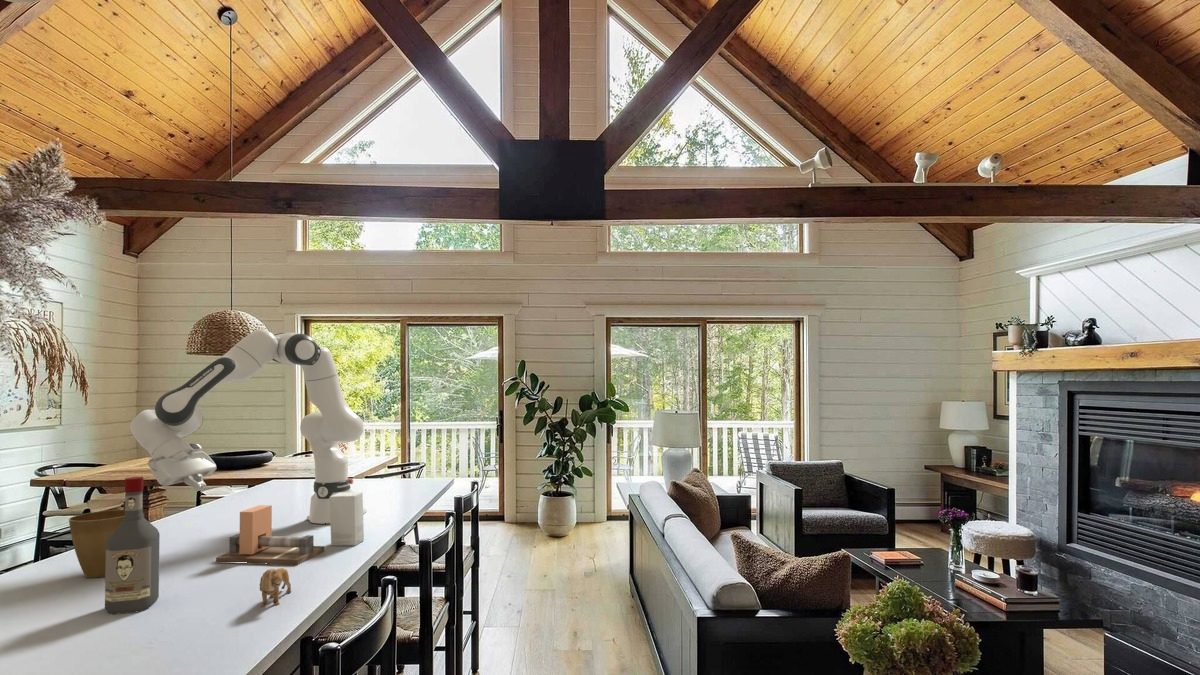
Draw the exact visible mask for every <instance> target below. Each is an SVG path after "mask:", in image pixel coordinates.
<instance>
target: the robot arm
mask: <svg viewBox="0 0 1200 675" xmlns="http://www.w3.org/2000/svg"><path fill="white" fill-rule="evenodd" d="M270 361H274V362H276V363H278V364H284V365H290V366H291V365H297V366H300V367H301V370H302V372H303V377H304V382H305V387H306V391H307V392H306V393H307V396H308V400H309V401H310V403H311V404H312V405H314V406H315V407H316V408H317V409H318V410H319V411H318V412H317V411H316V412H312V413H310V414H307V415H304V417H303V418H302V419H301V422H300V426H299V427H300V428H299V430H300V433H301V435H302V436H303V437H304V439H305V440H306V441H307V442H308V443H309V444H308V445H309V446H310V448H311V451H312V455H313V457H314V482H313V487H312V488H313V492H314V493H313V494H312V496H311V498H310V504H309V505H310V506H309V515H307V516H306V520H308V521H309V522H310V523H313V524H319V525H320V524H325V523H326V524H330V496H333V495H335V494H337V493H345V492H354V491H353V490H352V489H351V488H352V487H351V485H353V484H354V479H353V478H349V476H348V475H349V471H348V469H349V459H348V457H347V455H346V454H345V453H343V452H342V450H341V447H340V446H339V444H345V443H346V444H347V443H352V442H355V441H357V440H359V439H360V437H362V434H363V432H364V422H363V420H362V418H361V417H360V416H359V415H357V414H356V413H355V412H354V411H353V410H352V408H351V407H350V406H349V404H348V402H347V401H346V399H345V397H344V393H343V392H342V389H341V388H342V387H341V385H340V379H339V376H338V375H339V374H338V370H337V367H336V363H335V360H334V357H333V355H332V352H331V351H330V349H329V348H328V347H326V346H324V345H323V346H322V345H318V344H317V342H316V341H315V339H314V338H312V336H309V335H307V334H305V333H298V332H279V333H276V334H274V333H272V332H271V331H269V330H267V329H263V328H262V329H261V328H259V329H256V330H254V331H252V332H250V333H249V334H248V335H246V336H245V337H243V338H242V339H240V340H239V341H238V342H237V343H236V344H235V345H233V346H232V348H230V349H229V350H228V351H226V353H224V354H223V355H222V356H221V357H220V358H219V357H218V358H217V359H215V360H214V361H212V362H211V363H210V364H209V365H207V366H206V367H205V368H203V369H202V370H200V371H199V372H198V373H197V374H196V375H194V376H193V377H192V378H190V379H188V380H187V382H185V383H184V384H182V385H181V386H179V387H177V388H175V389H172V390H170V391H167V392H165V393H164V394H163V395H161V396H160V397H159V398H158V400H157V401H156V402H155V407H154V409H145V410H142V411H140V412H139V413H137V414H136V415H135V416H134V417H133V419H132V420H131V422H130V427H129V428H130V431H131V434H132V436H133V437H134V438H135V440H136V441H137V442H138V444H139V445H140V446H141V447H142V448H143V449H145V450H146V452H147V451H148V453H149V455H150V457H151V458H150V459H148V461H147V466H148V467H149V468H150V472H151V474H152V476H153V477H154V478H155V480H156V481H157V482H158V484H159V485H161V486H163V487H167V486H170V485H171V486H172V485H175V484H180V483H185V485H187V486H189V487H192V488H193V489H194V490H195V491H201V490H203V489H205V488H206V487H207V484H206V482H205V481H204V477H209V476H211V475H212V474H213V473H215V471H216V470H217V464H216V463H215V461H214V460H213V459H212V458H211V456H209V455H208V454H207V452H205V451H203V450H202V449H203V447H202V446H201V445H200V444H198V443H192V442H189V441H188V442H187V441H183V440H182V439H184V438H186V437H188V436H190V435H191V434H193V433H195V432H197V431H198V430H199V429H200V428H201V426H202V425H203V422H204V416H203V413H202V411H201V410H200V409H199V407H198V404H199V402H200V400H201V399H202V398H204V397H205V396H206V395H208V394H209V393H210V392H212V391H213V390H214V389H215V388H216V387H217V386H218V385H220V384H221V383H224V382H233V383H245V382H246V381H248V380H249V379H251V378H252V377H254V376H255V375H257V373H259V371H261V370H262V368H263V367H264V366H265V365H266V364H267V363H268V362H270ZM366 512H367V508H364V507H363V515H364V514H365V513H366Z"/></svg>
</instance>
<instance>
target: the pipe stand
mask: <svg viewBox="0 0 1200 675" xmlns="http://www.w3.org/2000/svg"><path fill="white" fill-rule="evenodd" d="M314 541H315V540H314V535H313V534H311V535H310V534H307V535H305V536H281V535H280V536H279V535H272V536H258V546H260V547H268V548H266V549H263V550H261V551H259V552H257V553H254V554H239V545H240V533H236V534H234V535H232V536H229V542H228V544H229V545H228V548H229V549H228V550H229V551H228V552H226V553H222V554H221V555H219V556H217V557H215V563H216V562H247V563H267V564H266V565H271V564H279V565H280V566H299V565H301V564H302V562H303V563H305V562H306V561H309V560H310V559H312V558H314V557H316V556H318V555H320V554H321V553H324V552H325V545H314ZM304 561H305V562H304ZM300 563H301V564H300ZM298 564H299V565H298ZM279 565H278V566H279Z"/></svg>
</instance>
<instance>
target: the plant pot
mask: <svg viewBox="0 0 1200 675" xmlns="http://www.w3.org/2000/svg"><path fill="white" fill-rule="evenodd" d="M124 515H125V509H112V510H111V509H110V510H101V511H93V512H92V511H91V512H87V513H82V514H77V515H74V516H71V517H70V518H69V519H68V522H69V530H70V535H71V539H72V544H73V549H74V552H75V555H76V558H77V560H78V562H79V566H80V568H81V571H82V572H83V574H84V577H85V578H90V579H91V578H102V577H104V578H105V567H106V541H107V539H108V537H109V536H110V535H111V534H112V532H113V531H114V530H115V529H116V528H117V527H118V526H119V525H120V524H121V523H122V522H123V517H124Z"/></svg>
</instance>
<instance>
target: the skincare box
mask: <svg viewBox="0 0 1200 675" xmlns="http://www.w3.org/2000/svg"><path fill="white" fill-rule="evenodd" d="M363 497H364V496H363V492H362V491H358V492H357V491H355V492H354V491H353V492H345V493H337V494H335V495H333V496H330V523H329V524H330V546H331V547H333V546H337V547H339V546H340V547H341V546H343V547H344V546H346V547H347V546H353V547H355V546H358V545H359V544H360V543H362V542H364V540H365V533H364V532H365V531H364V525H365V524H364V514H363V508H364V501H363V500H364V498H363Z"/></svg>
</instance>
